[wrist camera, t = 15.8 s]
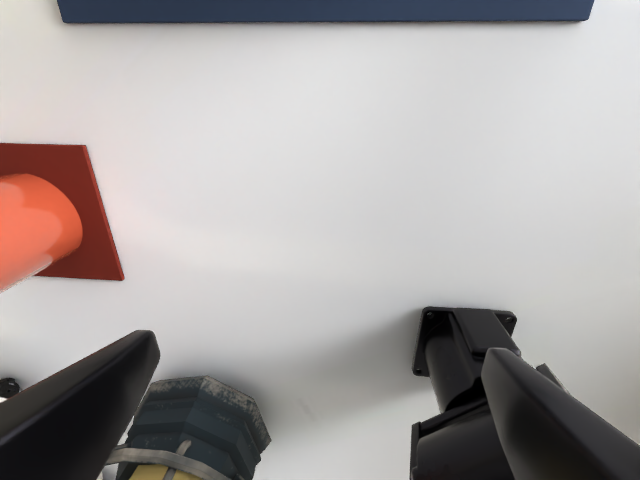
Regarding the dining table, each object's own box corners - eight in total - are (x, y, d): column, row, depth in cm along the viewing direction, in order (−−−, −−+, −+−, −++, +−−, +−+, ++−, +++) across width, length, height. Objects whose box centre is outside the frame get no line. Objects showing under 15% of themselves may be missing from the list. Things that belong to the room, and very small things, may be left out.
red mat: (124, 278, 24) (122, 280, 24) (5, 272, 25) (1, 274, 24) (85, 145, 20) (82, 145, 19) (-57, 141, 20) (-62, 142, 20)
